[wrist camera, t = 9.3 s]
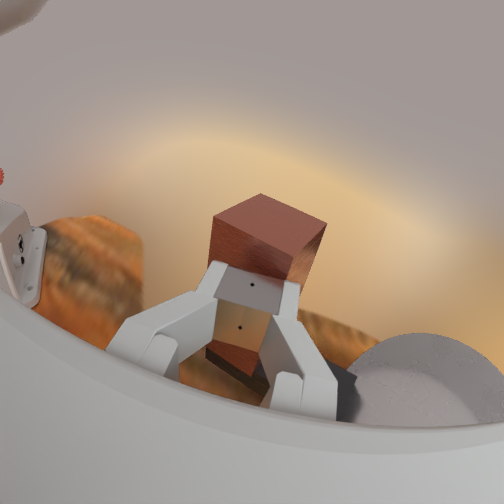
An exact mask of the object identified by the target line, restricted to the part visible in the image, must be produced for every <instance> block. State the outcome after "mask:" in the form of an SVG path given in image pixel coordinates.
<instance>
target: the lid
mask: <svg viewBox="0 0 504 504" xmlns="http://www.w3.org/2000/svg"><path fill="white" fill-rule="evenodd" d="M326 226H327V223H326V222H323V221H321V220H319V219H317V218H315V217H313V216H310V215H308V214H306V213H304V212H302V211H299V210H297V209H295V208H293V207H290V206H288V205H286V204H284V203H281V202H279V201H277V200H275V199H272V198H270V197H268V196H266V195H263V194H261V193H260V194H258V195H256V196H254V197H252V198H250V199H248V200H246V201H244V202H242V203H239V204H237V205H235V206H233V207H231V208H229V209H227V210H225V211H223V212H221V213H219V214H217V215H215V216H213V224H212V232H211V240H210V249H209V258H208V267H209V265H210V264H211V262H212V261H213V260H217V261H220V262H223V263H227V264H231V265H234V266H237V267H240V268H244V269H247V270H250V271H253V272H257V273H260V274H263V275H267V276H271V277H274V278H278V279H282V280H288V281H292V282H296V283H300V294H301V292H302V289H303V287H304V284H305V282H306V279H307V276H308V274H309V271H310V269H311V266H312V264H313V261H314V258H315V256H316V253H317V250H318V248H319V245H320V242H321V240H322V237H323V234H324V231H325V228H326ZM207 269H208V268H207ZM299 296H300V295H299ZM205 346H206V356H205V358H207V359H208V360H209V361H211V362H212V363H214V364H215V365H216V366H218V367H219V368H221V369H222V370H224V371H225V372H227V373H228V374H230V375H231V376H232V377H234V378H235V379H237V380H239V381H240V382H242V383H243V384H245V385H246V386H248V387H249V388H251V389H252V390H254V391H256V392H257V393H259V394H260V395H262V396H264V397H265V395H266V394H267V392H268V390H269V388H270V384H269V382H268V379H267V376H266V373H265V371H264V368H263V365H262V362H261V360H260V357H259V354H258V353H259V352H255V351H252V350H249V349H245V348H242V347H239V346H236V345H232V344H229V343H225V342H221V341H218V340H214V339H212V341H211V342H209V343H208V344H206V345H205ZM323 359H324V358H323ZM324 360H325V362H326V363H327V365H328V367H329V368H330V370H331V372H332V373H333V375H334V377H335V378H336V380H337V381H338V388H337V410H336V421H339V422H348V423H357V424H368V425H382V426H405V427H434V426H456V425H469V424H479V423H488V422H495V421H502V420H504V376H503V375H502V373H501V372H500V371H499V370H498V369H497V368H496V367H495V366H494V365H493V364H492V363H491V362H490V361H489V360H488V359H486V358H485V357H484V356H483V355H481V354H480V353H479V352H477V351H476V350H474V349H472V348H471V347H469V346H467V345H465V344H463V343H461V342H459V341H457V340H454V339H451V338H449V337H444V336H441V335H436V334H428V333H411V334H404V335H399V336H396V337H393V338H389V339H387V340H385V341H382V342H380V343H378V344H376V345H375V346H373V347H372V348H370V349H369V350H367V351H366V352H364V353H363V354H362V355H361V356H360V357H359V358H358V359H357V360H356V361H354V362H353V363H352V364H351V366H350V367H349V368H348V369H347V370H345V369H343V368H341V367H339V366H337V365H335V364H333V363H332V362H330V361H328V360H326V359H324Z"/></svg>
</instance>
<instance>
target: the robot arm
mask: <svg viewBox="0 0 504 504" xmlns="http://www.w3.org/2000/svg"><path fill="white" fill-rule="evenodd" d="M47 2H48V0H0V36H2V35H4V34H6V33H8V32H10V31H12V30H14V29H16V28H18V27H20V26H22V25H24V24H26V23H28V22H30V21H32V20H33V19H34V18H35V17H36V16H37V14H38V13H39V12H40V11H41V10H42V9H43V7H44V6H45V5H46V3H47ZM2 172H3V170H1V168H0V185H1V184H2V183H3V180H2V179H3V178H4V176H3V175H4V173H2ZM46 243H47V233H46V231H45V230H44V229H42V228H39V227H34V226H30V223H29V219H28V216H27V213H26V212H25V210H24V209H23V208H22V207H20V206H18V205H15V204H11V203H8V202H5V201H3V200H0V504H504V420H502V421H495V422H488V423H479V424H469V425H456V426H434V427H405V426H382V425H368V424H357V423H348V422H339V421H336V410H337V388H338V381H337V380H336V378H335V377H334V375H333V373H332V372H331V370H330V368H329V367H328V365H327V363H326V362H325V360H324V359H323V357H322V355H321V354H320V352H319V350H318V349H317V347H316V345H315V344H314V342H313V341H312V339H311V337H310V336H309V334H308V332H307V331H306V329H305V328H304V326H303V324H302V323H301V322H300V321H296V320H297V312H298V304H299V295H300V283H296V282H292V281H288V280H282V279H278V278H274V277H271V276H267V275H263V274H260V273H257V272H253V271H250V270H247V269H244V268H240V267H237V266H234V265H231V264H227V263H223V262H220V261H217V260H213V261H212V262H211V264H210V265H209V267H208V269H207V271H206V273H205V274H204V276H203V278H202V280H201V282H200V283H199V285H198V287H197V289H196V290H195V292H194V291H191V290H190V291H188V292H185V293H184V294H181V295H179V296H177V297H174V298H172V299H170V300H168V301H165V302H163V303H161V304H159V305H156V306H154V307H152V308H150V309H147V310H145V311H143V312H141V313H138V314H136V315H134V316H132V317H129V318H127V319H126V320H125V321H124V323H123V324H122V326H121V327H120V328H119V330H118V331H117V333H116V334H115V336H114V337H113V339H112V340H111V342H110V343H109V345H108V346H107V348H106V349H105V351H104V350H102V349H100V348H98V347H96V346H94V345H92V344H90V343H88V342H86V341H84V340H82V339H80V338H79V337H77V336H75V335H73V334H71V333H70V332H68V331H66V330H64V329H63V328H61V327H59V326H57V325H56V324H54V323H52V322H51V321H49V320H48V319H46V318H44V317H43V316H41V315H40V314H38V313H36V312H35V311H33V310H32V309H30V308H32V307H33V306H35V305H36V304H37V303H38V302H39V300H40V292H41V281H42V271H43V263H44V256H45V249H46ZM212 339H214V340H218V341H221V342H225V343H229V344H232V345H236V346H239V347H242V348H245V349H249V350H252V351H255V352H259V353H258V354H259V357H260V360H261V362H262V365H263V368H264V371H265V373H266V376H267V379H268V382H269V384H270V388H269V390H268V392H267V394H266V395H265V397H264V399H263V401H262V402H261V404H260V406H259V407H258V406H254V405H250V404H247V403H243V402H239V401H235V400H232V399H228V398H225V397H221V396H218V395H215V394H212V393H208V392H205V391H202V390H199V389H196V388H193V387H190V386H187V385H184V384H182V383H180V382H179V363H181V362H182V361H184V360H185V359H186V358H188V357H189V356H191V355H192V354H194V353H195V352H196V351H198V350H199V349H201V348H202V347H204V346H205V345H206V344H208V343H209V342H211V341H212Z"/></svg>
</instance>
